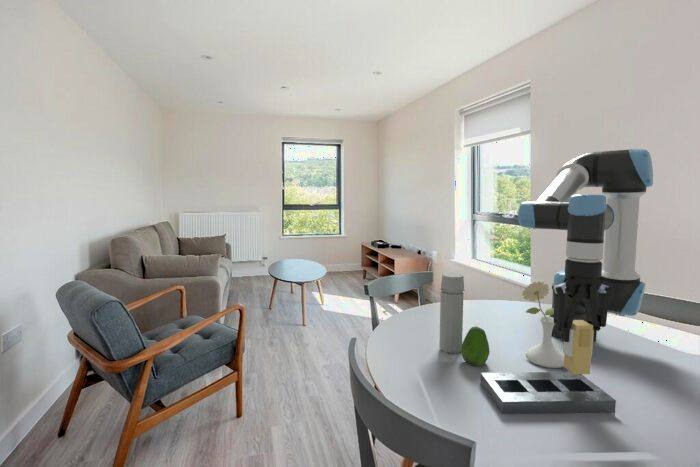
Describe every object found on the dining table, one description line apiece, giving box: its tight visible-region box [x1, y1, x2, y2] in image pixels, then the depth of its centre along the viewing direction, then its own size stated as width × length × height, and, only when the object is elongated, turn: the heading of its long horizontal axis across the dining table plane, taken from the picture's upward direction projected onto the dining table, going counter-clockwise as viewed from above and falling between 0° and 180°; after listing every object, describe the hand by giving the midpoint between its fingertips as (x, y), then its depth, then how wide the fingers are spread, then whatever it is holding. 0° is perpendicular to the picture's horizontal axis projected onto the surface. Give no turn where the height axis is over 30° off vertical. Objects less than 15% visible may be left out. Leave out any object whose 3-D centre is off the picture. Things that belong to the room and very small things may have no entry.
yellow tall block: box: [563, 320, 593, 375], centre depth 93 cm, size 4×5×12 cm
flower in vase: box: [522, 281, 565, 369], centre depth 114 cm, size 13×11×25 cm
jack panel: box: [480, 371, 617, 417], centre depth 94 cm, size 26×14×4 cm, turn 91°
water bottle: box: [439, 272, 466, 355], centre depth 125 cm, size 9×8×25 cm
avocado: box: [460, 326, 491, 367], centre depth 113 cm, size 8×8×12 cm
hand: (577, 354), depth 93 cm, fingers closed on yellow tall block, 4 cm apart
